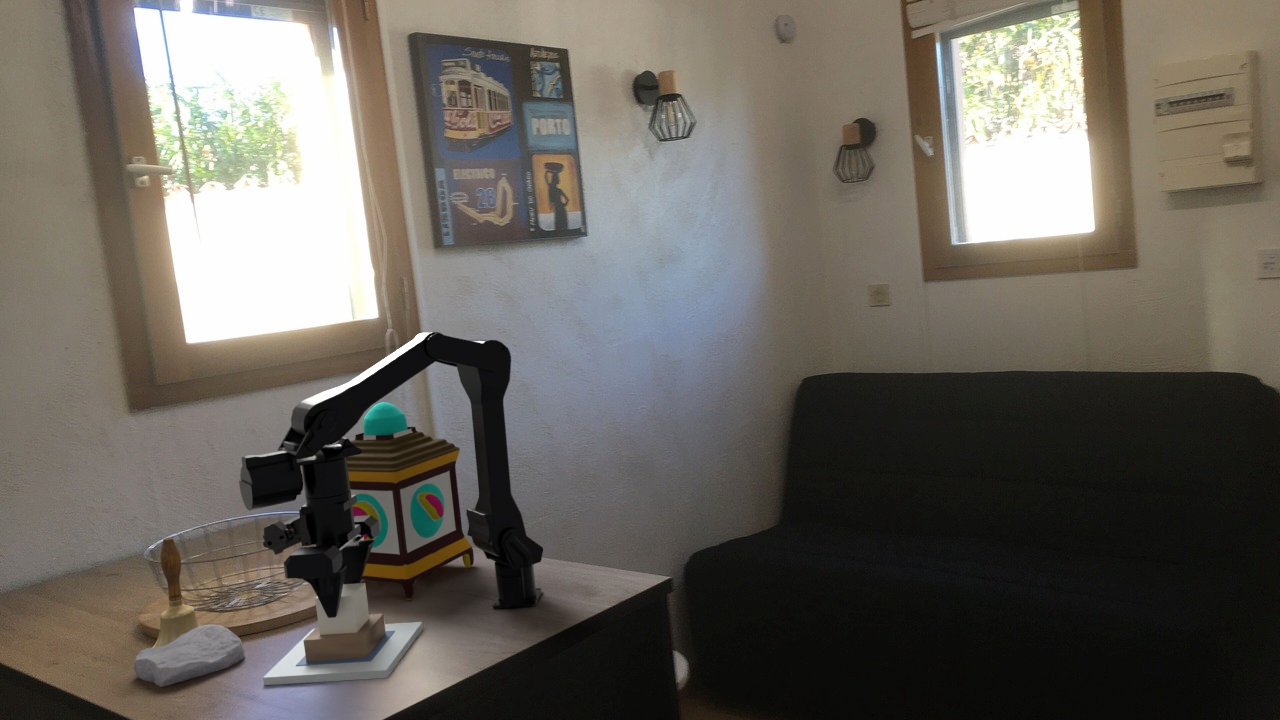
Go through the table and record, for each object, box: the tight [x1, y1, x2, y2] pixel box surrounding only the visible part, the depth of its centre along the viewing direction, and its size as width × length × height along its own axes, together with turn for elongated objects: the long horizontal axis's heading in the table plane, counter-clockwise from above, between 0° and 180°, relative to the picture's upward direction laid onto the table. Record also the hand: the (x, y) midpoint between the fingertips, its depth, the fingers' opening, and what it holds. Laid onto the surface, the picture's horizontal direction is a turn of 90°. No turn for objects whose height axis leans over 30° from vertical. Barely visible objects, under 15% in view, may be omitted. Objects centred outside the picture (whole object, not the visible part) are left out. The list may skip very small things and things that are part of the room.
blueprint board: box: [262, 613, 424, 686], centre depth 129 cm, size 16×16×4 cm
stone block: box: [133, 624, 246, 688], centre depth 129 cm, size 12×5×10 cm
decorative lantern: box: [346, 401, 475, 601], centre depth 158 cm, size 20×20×30 cm
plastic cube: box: [314, 582, 370, 635], centre depth 128 cm, size 5×5×5 cm
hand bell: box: [151, 537, 202, 648], centre depth 137 cm, size 8×8×16 cm
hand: (342, 607), depth 128 cm, fingers open, 7 cm apart
